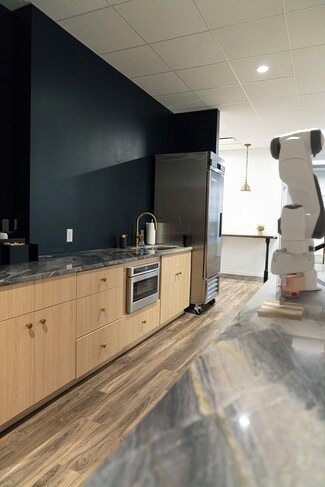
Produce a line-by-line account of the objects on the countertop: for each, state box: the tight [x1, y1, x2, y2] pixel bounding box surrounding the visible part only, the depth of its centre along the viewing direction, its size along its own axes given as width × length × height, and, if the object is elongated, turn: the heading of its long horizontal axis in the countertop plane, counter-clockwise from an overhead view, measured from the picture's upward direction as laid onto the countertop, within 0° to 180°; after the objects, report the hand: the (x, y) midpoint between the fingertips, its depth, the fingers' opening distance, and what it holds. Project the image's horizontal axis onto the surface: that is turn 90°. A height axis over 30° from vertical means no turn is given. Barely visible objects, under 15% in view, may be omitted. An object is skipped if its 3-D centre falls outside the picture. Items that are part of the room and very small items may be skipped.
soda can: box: [280, 273, 300, 299], centre depth 135 cm, size 7×7×12 cm
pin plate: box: [257, 296, 305, 322], centre depth 111 cm, size 17×13×5 cm
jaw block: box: [282, 275, 307, 292], centre depth 122 cm, size 7×5×5 cm
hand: (292, 284), depth 122 cm, fingers closed on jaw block, 7 cm apart
